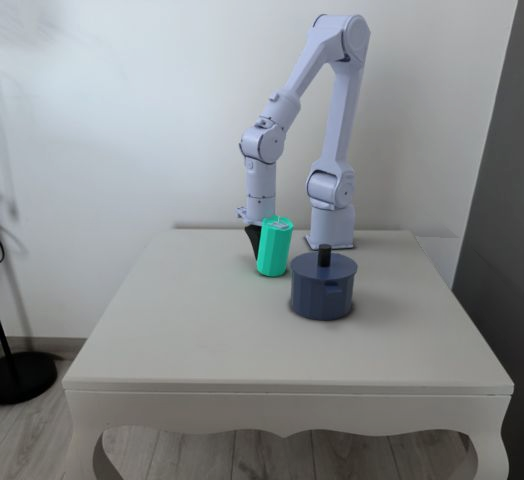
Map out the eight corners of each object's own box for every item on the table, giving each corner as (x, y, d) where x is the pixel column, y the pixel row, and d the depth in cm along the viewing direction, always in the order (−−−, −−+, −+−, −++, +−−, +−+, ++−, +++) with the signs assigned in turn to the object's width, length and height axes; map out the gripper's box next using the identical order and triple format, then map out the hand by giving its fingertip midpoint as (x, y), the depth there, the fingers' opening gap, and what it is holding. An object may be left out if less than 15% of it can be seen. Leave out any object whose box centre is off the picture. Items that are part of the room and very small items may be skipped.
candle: (283, 279, 103) (292, 226, 95) (254, 273, 103) (261, 219, 95) (287, 263, 107) (296, 211, 99) (259, 257, 107) (266, 205, 99)
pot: (338, 283, 100) (341, 247, 96) (362, 326, 87) (367, 286, 83) (283, 287, 99) (284, 250, 95) (300, 330, 86) (302, 290, 82)
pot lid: (346, 255, 95) (348, 232, 92) (365, 283, 85) (368, 258, 83) (284, 258, 93) (285, 235, 91) (297, 287, 84) (298, 261, 81)
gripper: (222, 189, 101) (224, 253, 109) (269, 207, 92) (268, 276, 100) (249, 182, 105) (250, 245, 113) (298, 200, 96) (295, 266, 104)
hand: (260, 259), depth 107 cm, fingers closed
